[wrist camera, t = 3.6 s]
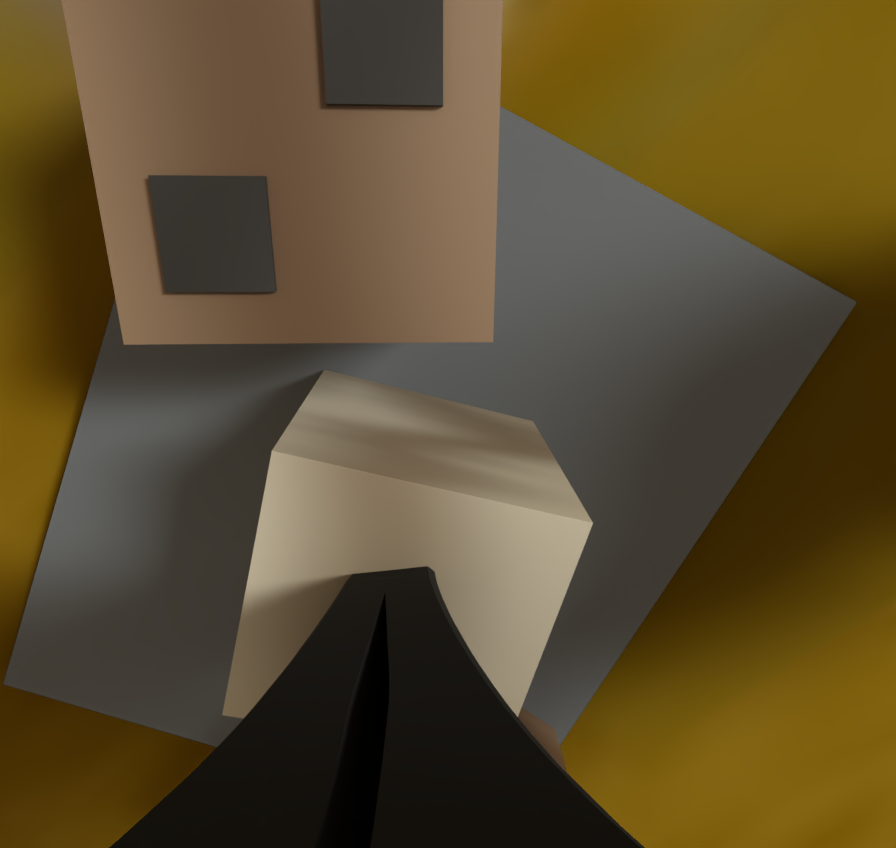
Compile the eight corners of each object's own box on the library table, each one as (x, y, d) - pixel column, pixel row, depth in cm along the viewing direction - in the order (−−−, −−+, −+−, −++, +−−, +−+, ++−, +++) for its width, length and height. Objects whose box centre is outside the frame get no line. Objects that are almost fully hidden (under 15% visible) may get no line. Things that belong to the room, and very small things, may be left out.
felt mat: (845, 299, 14) (857, 302, 13) (500, 818, 19) (502, 831, 18) (222, -40, 11) (216, -50, 11) (13, 673, 16) (2, 684, 15)
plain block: (532, 421, 14) (593, 523, 9) (474, 595, 15) (500, 761, 11) (324, 369, 13) (272, 450, 8) (285, 557, 15) (222, 715, 10)
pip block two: (468, 34, 11) (506, -110, 6) (465, 299, 13) (493, 343, 8) (203, 29, 11) (34, -124, 6) (234, 299, 13) (120, 346, 8)
